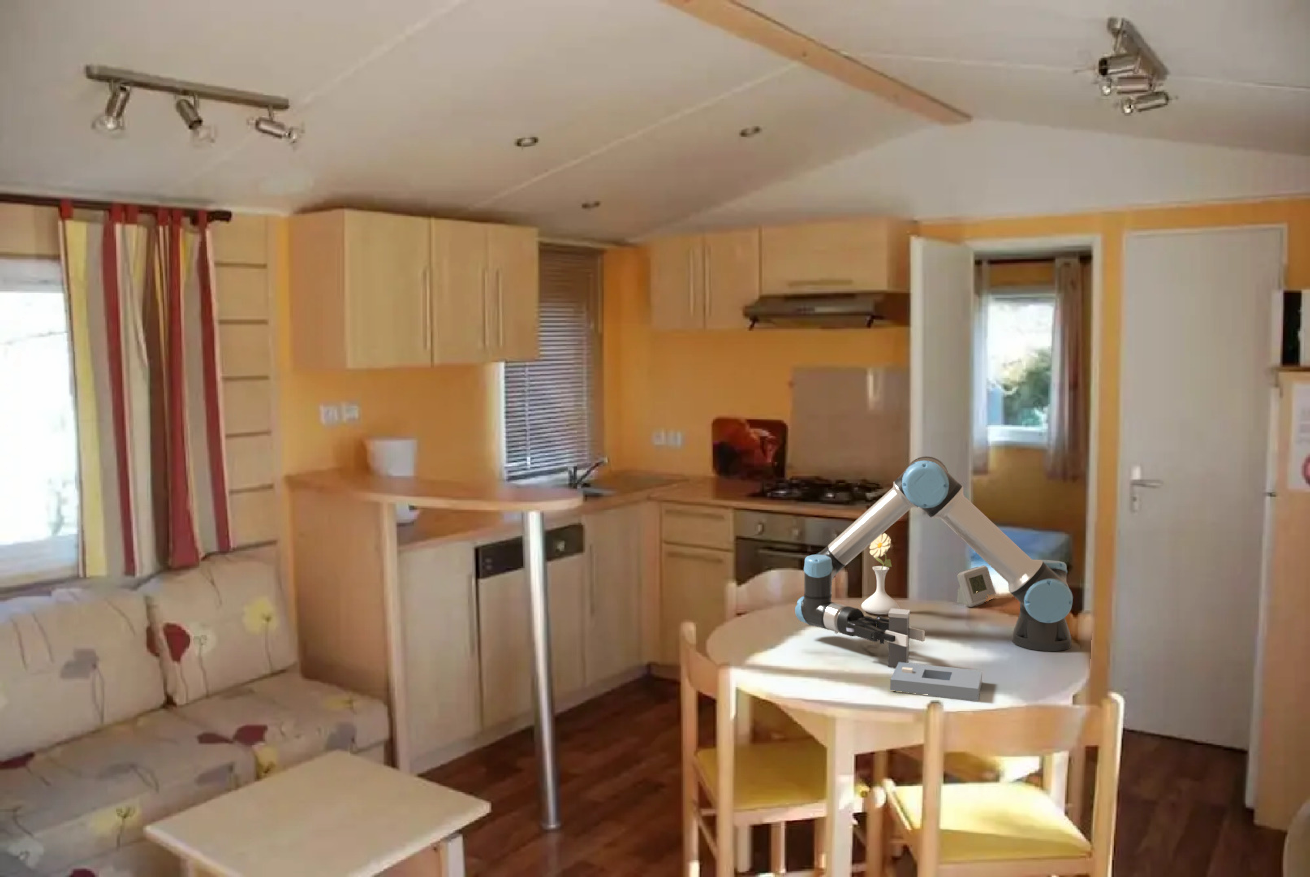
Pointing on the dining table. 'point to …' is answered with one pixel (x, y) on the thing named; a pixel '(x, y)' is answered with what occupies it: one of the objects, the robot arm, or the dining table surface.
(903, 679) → the socket plate
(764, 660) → the dining table surface
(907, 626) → the plug
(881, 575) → the flower in vase
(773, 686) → the dining table surface
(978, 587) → the digital clock
